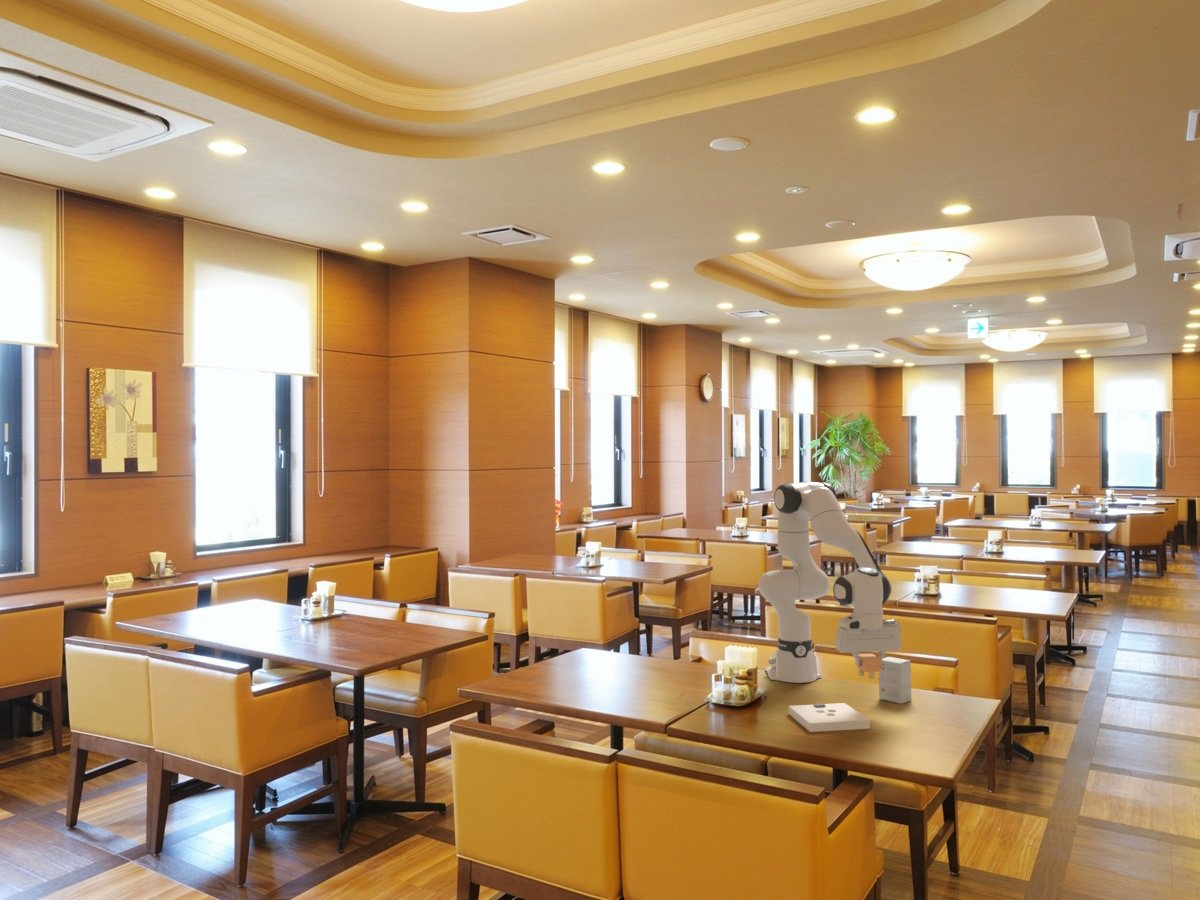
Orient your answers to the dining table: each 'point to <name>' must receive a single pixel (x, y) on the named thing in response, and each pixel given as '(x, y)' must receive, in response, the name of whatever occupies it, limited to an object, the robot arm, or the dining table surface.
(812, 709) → the socket plate
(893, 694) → the small box
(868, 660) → the plug
